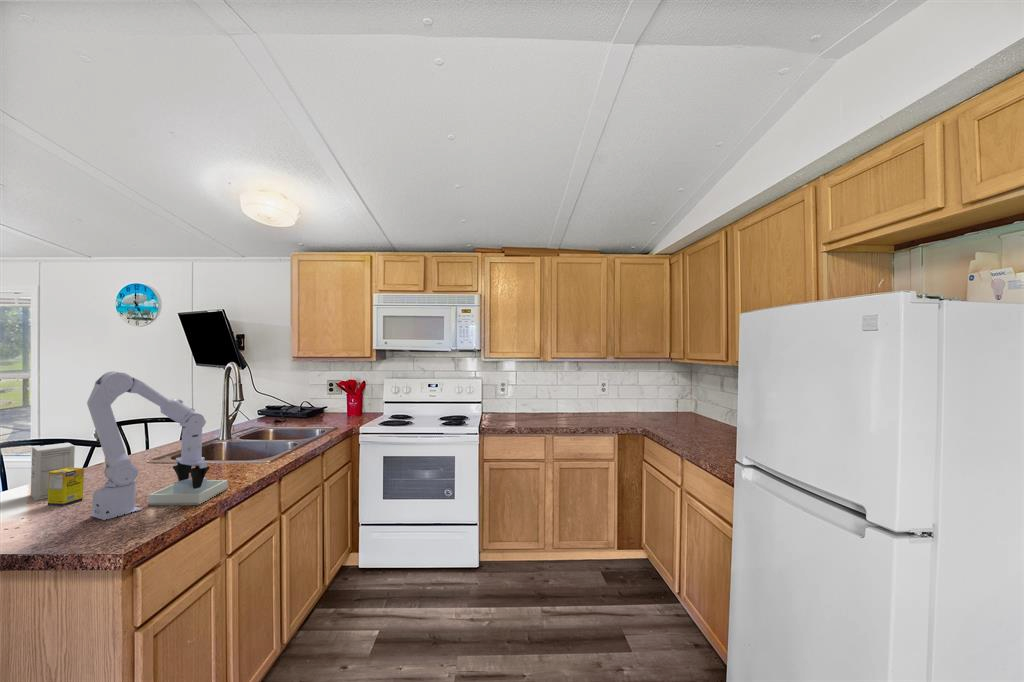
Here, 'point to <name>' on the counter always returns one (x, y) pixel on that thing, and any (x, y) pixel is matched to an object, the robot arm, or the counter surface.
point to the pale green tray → (168, 498)
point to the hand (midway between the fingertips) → (190, 486)
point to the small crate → (188, 487)
